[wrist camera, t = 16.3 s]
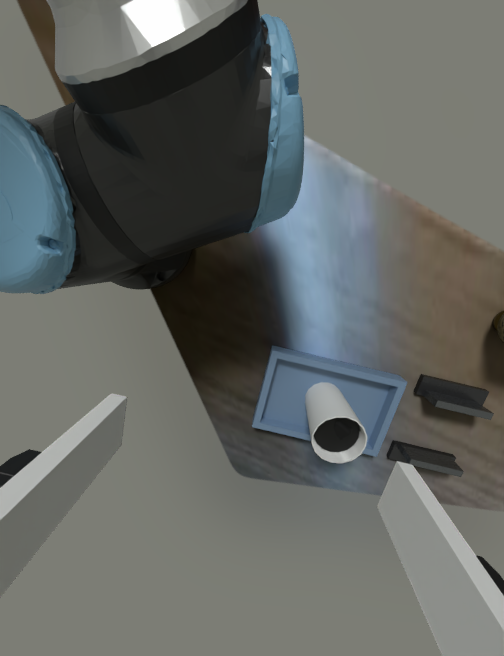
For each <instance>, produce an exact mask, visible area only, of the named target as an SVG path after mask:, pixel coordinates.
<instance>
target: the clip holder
mask: <svg viewBox="0 0 504 656" xmlns="http://www.w3.org/2000/svg"><path fill="white" fill-rule="evenodd" d="M414 392H415V393H416V394H418V395H422V396H424V397H425V398H426V399H427V400H428V401H429V402H431V403H432V404H433V405H434V406H435V407H439V408H443V409H447V410H451V411H456V412H460V413H464V414H468V415H472V416H476V417H481V418H485V419H489V420H491V418H492V416H493V414H494V413H492V412H491V411H489V410H488V409H486V408H485V407H483V406H482V405H483V403H484V401H485V399H486V397H487V395H488V393H489V391H487V390H485V389H481V388H477V387H473V386H469V385H465V384H460V383H456V382H452V381H448V380H444V379H439V378H435V377H431V376H427V375H423V374H421V375H420V378H419V380H418V382H417V385H416V387H415V389H414ZM387 457H388V459H392V460H396V461H400V462H404V463H408V464H411V465H413V466H417V467H421V468H425V469H429V470H434V471H438V472H442V473H446V474H450V475H455V476H459V477H461V476H462V474H463V472H464V471H463V470H462V469H461V468H460V467H459V466H458V465H457V464H456V463H455V462H454V461H455V459H456V457H455V456H454V455H453V454H449V453H444V452H440V451H436V450H432V449H428V448H423V447H419V446H415V445H411V444H407V443H403V442H398V441H394V440H393V441H392V444H391V446H390V448H389V451H388V453H387Z"/></svg>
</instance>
